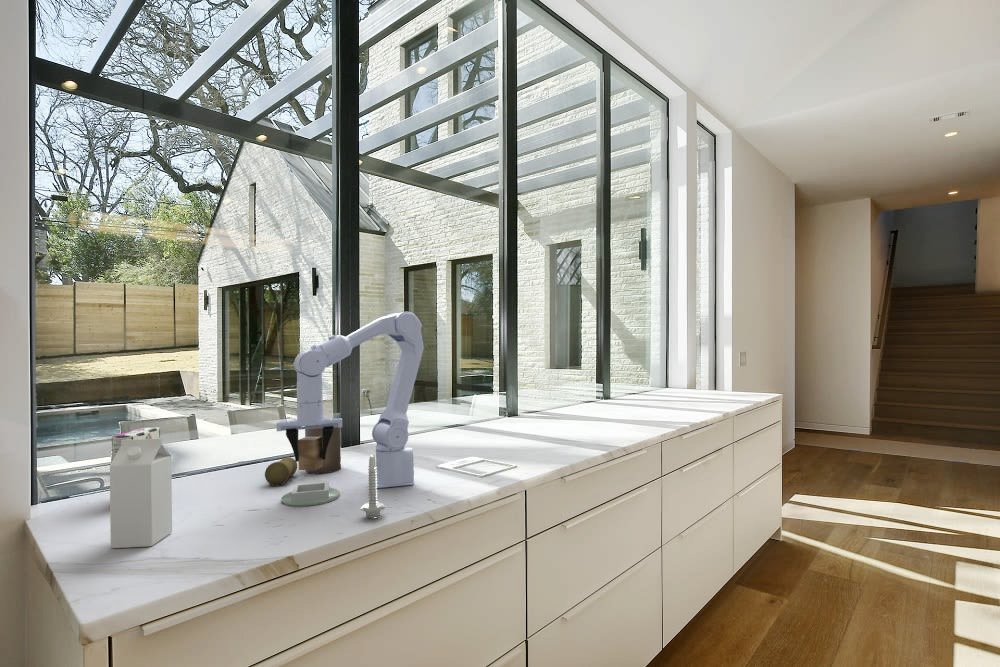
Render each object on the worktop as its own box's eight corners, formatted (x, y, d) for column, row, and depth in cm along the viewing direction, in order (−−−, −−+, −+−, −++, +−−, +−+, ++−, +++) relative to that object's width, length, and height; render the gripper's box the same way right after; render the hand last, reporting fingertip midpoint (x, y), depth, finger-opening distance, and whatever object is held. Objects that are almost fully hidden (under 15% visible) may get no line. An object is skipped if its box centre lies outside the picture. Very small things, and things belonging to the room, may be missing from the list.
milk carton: (133, 534, 103) (132, 436, 103) (172, 533, 104) (171, 435, 104) (110, 549, 96) (109, 443, 96) (151, 547, 97) (150, 442, 97)
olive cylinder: (282, 457, 137) (293, 450, 148) (260, 469, 136) (273, 461, 147) (293, 478, 137) (304, 469, 148) (271, 490, 136) (284, 480, 147)
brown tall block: (322, 466, 127) (322, 436, 127) (315, 470, 123) (314, 439, 123) (306, 465, 128) (306, 436, 128) (298, 470, 124) (298, 439, 124)
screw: (376, 511, 115) (389, 516, 111) (356, 517, 111) (369, 522, 108) (375, 450, 115) (388, 453, 111) (355, 454, 111) (368, 457, 108)
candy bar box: (141, 494, 131) (140, 427, 131) (162, 493, 131) (161, 426, 132) (111, 508, 120) (110, 435, 120) (134, 507, 120) (133, 434, 120)
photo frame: (472, 455, 164) (517, 464, 152) (472, 459, 164) (517, 468, 152) (436, 464, 153) (481, 474, 141) (436, 468, 153) (481, 479, 141)
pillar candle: (348, 468, 154) (347, 416, 155) (320, 475, 146) (319, 420, 146) (325, 464, 160) (324, 414, 160) (297, 471, 151) (296, 418, 152)
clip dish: (339, 487, 134) (339, 478, 134) (340, 502, 121) (340, 492, 121) (284, 492, 130) (284, 483, 130) (278, 509, 117) (278, 498, 117)
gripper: (341, 398, 132) (342, 453, 132) (278, 401, 127) (279, 458, 127) (342, 401, 125) (342, 459, 125) (275, 405, 121) (276, 465, 121)
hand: (310, 459), depth 126 cm, fingers closed on brown tall block, 5 cm apart
